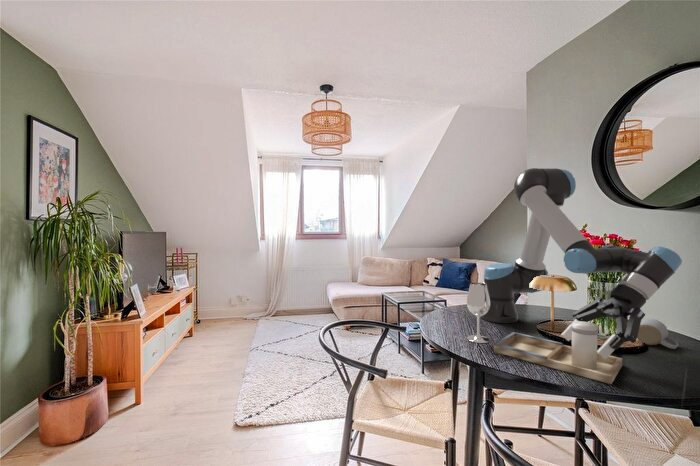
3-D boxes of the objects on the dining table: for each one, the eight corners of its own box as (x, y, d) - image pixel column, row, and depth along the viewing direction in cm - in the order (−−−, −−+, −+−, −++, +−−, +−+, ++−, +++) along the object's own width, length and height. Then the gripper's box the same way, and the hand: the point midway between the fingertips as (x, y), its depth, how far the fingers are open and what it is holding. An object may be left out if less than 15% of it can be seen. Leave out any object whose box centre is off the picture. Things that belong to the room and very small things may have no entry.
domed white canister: (568, 365, 96) (569, 324, 95) (574, 359, 100) (574, 319, 99) (594, 372, 91) (595, 329, 91) (599, 365, 95) (599, 324, 95)
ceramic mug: (632, 342, 114) (633, 320, 114) (638, 337, 119) (639, 316, 119) (675, 352, 106) (676, 328, 105) (680, 346, 111) (681, 323, 110)
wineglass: (491, 344, 113) (491, 286, 113) (466, 342, 116) (466, 285, 115) (489, 337, 121) (489, 282, 120) (466, 334, 123) (466, 281, 123)
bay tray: (493, 352, 106) (493, 343, 106) (513, 340, 117) (513, 331, 117) (611, 386, 84) (611, 374, 84) (622, 366, 95) (622, 356, 95)
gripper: (687, 313, 83) (629, 374, 83) (605, 292, 108) (560, 339, 107) (667, 292, 82) (609, 354, 82) (589, 276, 107) (544, 323, 107)
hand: (581, 346), depth 95 cm, fingers open, 13 cm apart
